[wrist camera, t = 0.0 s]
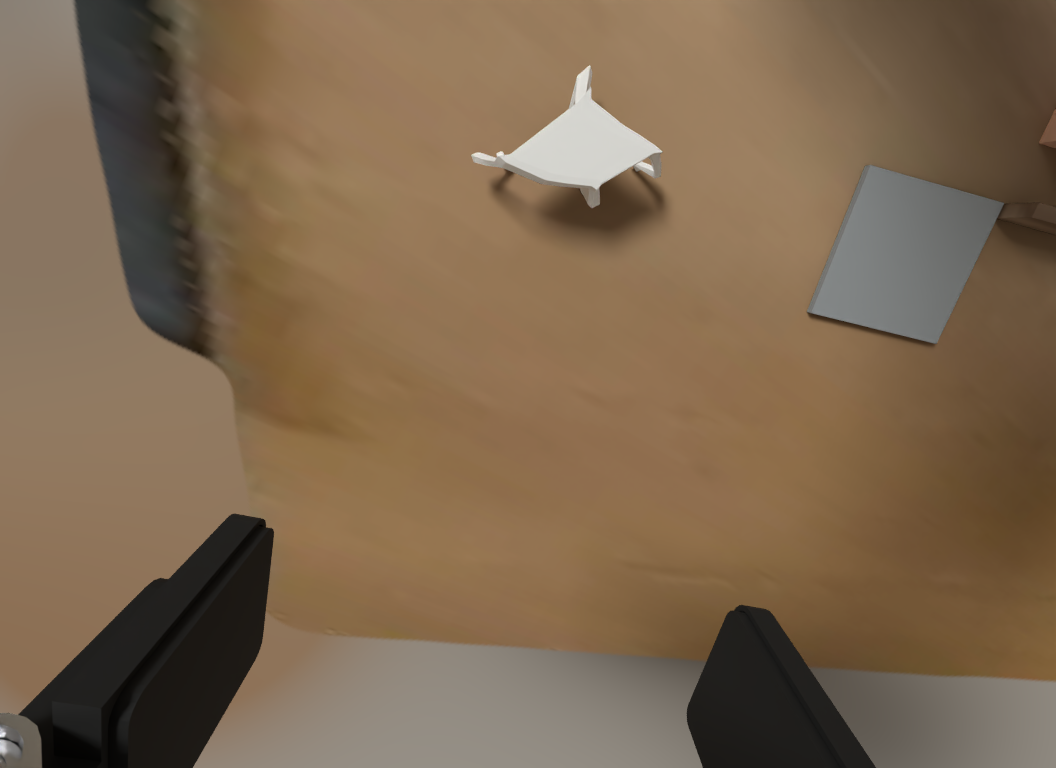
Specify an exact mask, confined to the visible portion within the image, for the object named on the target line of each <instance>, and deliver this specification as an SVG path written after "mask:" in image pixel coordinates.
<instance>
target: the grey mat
mask: <svg viewBox="0 0 1056 768" xmlns="http://www.w3.org/2000/svg"><path fill="white" fill-rule="evenodd" d="M1003 205H1004V203H1003V202H999V201H996V200H992V199H988V198H985V197H981V196H978V195H974V194H971V193H967V192H964V191H960V190H957V189H953V188H950V187H946V186H943V185H939V184H936V183H932V182H928V181H925V180H921V179H918V178H914V177H911V176H907V175H904V174H900V173H897V172H893V171H890V170H886V169H883V168H879V167H876V166H872V165H868V166H865V168H864V170H863V173H862V175H861V178H860V180H859V183H858V185H857V188H856V190H855V193H854V195H853V198H852V200H851V203H850V205H849V208H848V210H847V213H846V215H845V218H844V220H843V223H842V225H841V228H840V230H839V233H838V235H837V238H836V240H835V243H834V245H833V248H832V250H831V253H830V255H829V258H828V260H827V263H826V265H825V268H824V270H823V273H822V275H821V278H820V280H819V283H818V285H817V288H816V290H815V293H814V295H813V298H812V300H811V303H810V305H809V308H808V310H807V312H809V313H813V314H817V315H821V316H825V317H829V318H833V319H837V320H841V321H845V322H850V323H854V324H858V325H862V326H866V327H870V328H874V329H878V330H882V331H886V332H890V333H894V334H898V335H902V336H906V337H910V338H914V339H918V340H922V341H926V342H930V343H935V344H937V342H938V340H939V337H940V335H941V333H942V331H943V329H944V327H945V325H946V323H947V321H948V319H949V317H950V315H951V313H952V310H953V308H954V306H955V304H956V302H957V300H958V298H959V296H960V294H961V292H962V290H963V288H964V286H965V283H966V281H967V279H968V277H969V275H970V273H971V271H972V269H973V267H974V265H975V263H976V261H977V259H978V257H979V254H980V252H981V250H982V248H983V246H984V244H985V242H986V240H987V238H988V236H989V234H990V232H991V230H992V227H993V225H994V223H995V221H996V219H997V217H998V215H999V213H1000V211H1001V209H1002V207H1003Z"/></svg>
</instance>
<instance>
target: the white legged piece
mask: <svg viewBox="0 0 1056 768" xmlns="http://www.w3.org/2000/svg"><path fill="white" fill-rule="evenodd" d="M591 78H592V70H591V66H590V65H589V66H588V67H587V68H586V69H585V70H584V71H582V72H581V73H580V74H579V75H578V76H577V79H576V83H575V87H574V91H573V95H572V99H571V103H570V106H569V109H568V110H567V111H566V112H564V113H563V114H562V115H561V116H559V117H558V118H557V119H555V120H554V121H553V122H552V123H550V124H549V125H548V126H546V127H545V128H544V129H542V130H541V131H540V132H539V133H537V134H536V135H535V136H533V137H532V138H531V139H529V140H528V141H527V142H526V143H524V144H523V145H522V146H520V147H519V148H518V149H516V150H515V151H514V152H513V153H511V154H509V155H504V153H503V152H502V151H501V152H499V153H497V154H496V155H497V156H498V157H497V158H495V157H492V156H489V155H486V154H483V153H479V152H478V153H475V154H472V158H473V161H474V162H475V163H479V164H483V165H487V166H494V167H501V168H504V169H506V170H509V171H511V172H514V173H516V174H518V175H521V176H523V177H526V178H528V179H531V180H533V181H535V182H538V183H540V184H545V185H553V186H561V187H572V188H580V190H581V194H583V196H584V198H585V200H586V202H587V204H588V205H589V206H590V207H591V208H593V207H595V206H598V205H600V190H599V187H600V186H601V185H602V184H604V183H606V182H607V181H609V180H611V179H612V178H614V177H616V176H617V175H619V174H621V173H622V172H624V171H626V170H628V169H629V168H631V167H634V168H635V170H636V172H637V171H640V170H642V171H644V172H645V173H647V174H649V175H650V176H652V177H653V178H658V177H661V158H660V154H661V153H662V151H661V150H660V149H659V148H658V147H657V146H655V145H654V144H652V143H651V142H649V141H648V140H646V139H645V138H643V137H642V136H640V135H639V134H637V133H635V132H634V131H632V130H631V129H629V128H627V127H626V126H624V125H623V124H621V123H620V122H619V121H618V120H616V119H615V118H614V117H613V116H612V115H610V114H609V113H608V112H607V111H605V110H604V109H603V108H602V107H600V106H599V105H598V104H597V103H595V102H594V101H593V100H592V99H591V87H590V84H591ZM646 158H649V159H650V160H651V164H652V166H651V165H648V164H646V163H644V162H641V161H643V160H644V159H646Z"/></svg>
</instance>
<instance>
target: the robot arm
mask: <svg viewBox="0 0 1056 768" xmlns="http://www.w3.org/2000/svg"><path fill="white" fill-rule="evenodd" d="M273 538H274V531H273V529H272V528H266V522H265V520H264V519H261V518H256V517H250V516H245V515H239V514H232V515H230V516H229V517H228V518H227V519H226V520H225V521H224V522H223V523H222V524H221V525H220V526H219V527H218V528H217V529H216V530H215V531H214V532H213V534H211V535H210V537H209V538H208V539H207V540H206V541H205V542H204V543H203V544H202V545H201V546H200V547H199V548H198V549H197V550H196V551H195V552H194V553H193V554H192V555H191V556H190V557H189V558H188V560H187V561H186V562H185V563H184V564H183V565H182V566H181V567H180V568H179V569H178V570H177V571H176V572H175V573H174V574H173V575H172V576H171V578H169V579H163V578H159V579H157V580H154V581H153V582H151V583H150V584H149V585H148V586H147V587H145V588H144V589H143V590H142V591H141V592H140V593H139V594H138V595H137V596H136V598H134V599H133V600H132V601H131V602H130V603H129V604H128V606H126V607H125V608H124V610H122V612H120V613H119V614H118V616H116V617H115V619H113V621H111V622H110V623H109V624H108V625H107V626H106V627H105V628H104V629H103V630H102V631H101V632H100V633H99V634H98V635H97V636H96V637H95V638H94V639H93V640H92V641H91V642H90V643H89V645H88V646H86V647H85V649H84V650H82V651H81V652H80V653H79V655H77V656H76V657H75V658H74V659H73V660H72V661H71V662H70V663H69V665H67V666H66V667H65V669H64V670H63V671H62V672H61V673H60V674H58V675H57V677H55V678H54V680H52V682H50V684H48V685H47V686H46V687H45V689H43V690H42V691H41V692H40V693H39V695H37V696H36V697H35V698H34V699H33V701H32V702H31V703H30V704H29V705H27V706H26V708H25V709H23V710H22V712H21V713H20V714H19V715H15V714H10V713H0V768H193V766H194V764H195V763H196V761H197V759H198V758H199V756H200V754H201V752H202V751H203V749H204V747H205V745H206V744H207V742H208V740H209V739H210V736H211V735H212V734H213V732H214V730H215V728H216V727H217V725H218V723H219V721H220V720H221V718H222V716H223V715H224V713H225V711H226V709H227V708H228V706H229V704H230V703H231V701H232V699H233V697H234V696H235V694H236V692H237V690H238V689H239V687H240V685H241V684H242V682H243V680H244V678H245V677H246V675H247V673H248V671H249V670H250V668H251V666H252V665H253V663H254V661H255V659H256V657H257V655H258V653H259V650H260V647H261V644H262V639H263V630H264V621H265V612H266V603H267V594H268V584H269V575H270V566H271V557H272V547H273ZM687 722H688V726H689V729H690V732H691V735H692V738H693V740H694V743H695V746H696V749H697V752H698V755H699V757H700V760H701V763H702V766H703V768H876V767H875V765H874V764H873V763H872V761H871V760H870V758H869V757H868V755H867V754H866V752H865V751H864V749H863V748H862V746H861V745H860V743H859V742H858V740H857V739H856V737H855V736H854V734H853V733H852V732H851V730H850V728H849V727H848V725H847V724H846V723H845V721H844V719H843V718H842V717H841V715H840V714H839V712H838V711H837V709H836V708H835V706H834V705H833V703H832V702H831V700H830V699H829V698H828V696H827V695H826V693H825V692H824V690H823V688H822V687H821V685H820V684H819V682H818V681H817V680H816V678H815V677H814V675H813V674H812V672H811V671H810V669H809V668H808V666H807V665H806V663H805V662H804V660H803V659H802V657H801V656H800V654H799V653H798V651H797V650H796V648H795V647H794V645H793V644H792V642H791V641H790V639H789V638H788V636H787V635H786V634H785V632H784V631H783V629H782V628H781V626H780V625H779V623H778V622H777V620H776V619H775V617H774V616H773V614H772V613H771V612H770V611H768V610H766V609H761V608H756V607H750V606H745V605H739V606H738V607H736V608H735V610H734V611H730V612H729V613H728V614H727V616H726V618H725V620H724V622H723V625H722V627H721V629H720V632H719V634H718V636H717V639H716V641H715V643H714V646H713V648H712V650H711V653H710V655H709V657H708V660H707V662H706V665H705V667H704V670H703V672H702V674H701V676H700V679H699V681H698V683H697V686H696V688H695V690H694V693H693V695H692V697H691V700H690V702H689V705H688V708H687Z"/></svg>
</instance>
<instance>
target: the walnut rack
mask: <svg viewBox="0 0 1056 768" xmlns="http://www.w3.org/2000/svg"><path fill="white" fill-rule="evenodd" d="M997 219H1000V220H1004V221H1007V222H1011V223H1014V224H1018V225H1021V226H1025V227H1029V228H1032V229H1036V230H1039V231H1043V232H1047V233H1050V234H1054V235H1056V207H1053V206H1050V205H1046V204H1043V203H1015V204H1004V205H1003V207H1002V209H1001V211H1000V213H999V215H998V217H997Z"/></svg>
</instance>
